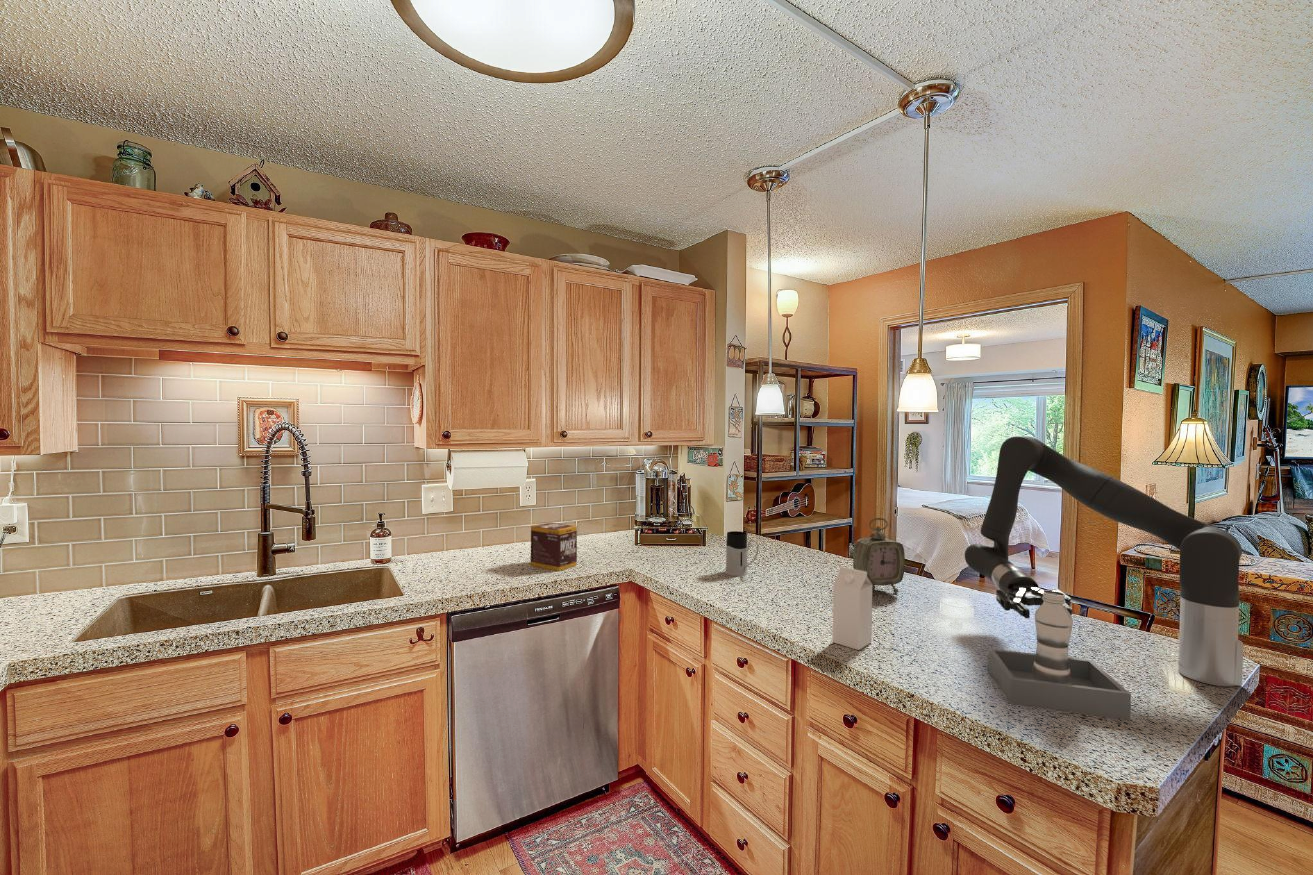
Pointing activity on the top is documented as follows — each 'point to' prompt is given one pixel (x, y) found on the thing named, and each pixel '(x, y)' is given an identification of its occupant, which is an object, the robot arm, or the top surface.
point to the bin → (1059, 686)
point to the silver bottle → (1052, 639)
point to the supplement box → (554, 546)
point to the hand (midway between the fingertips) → (1048, 614)
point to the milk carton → (852, 608)
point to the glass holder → (737, 553)
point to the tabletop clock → (880, 558)
